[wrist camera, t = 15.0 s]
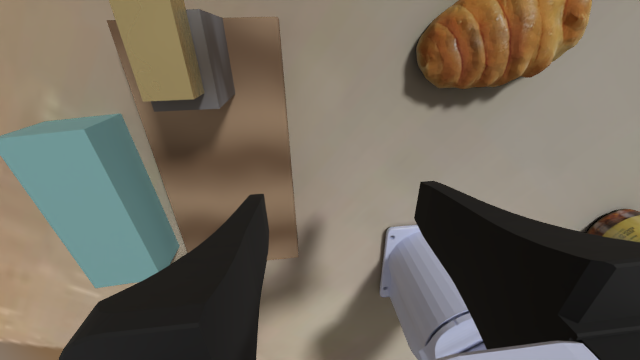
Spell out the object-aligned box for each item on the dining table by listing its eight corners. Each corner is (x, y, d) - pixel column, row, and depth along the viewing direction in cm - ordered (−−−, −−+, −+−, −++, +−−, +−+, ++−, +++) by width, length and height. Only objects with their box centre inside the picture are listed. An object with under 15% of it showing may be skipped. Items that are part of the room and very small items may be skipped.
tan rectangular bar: (204, 93, 12) (194, 99, 11) (158, 94, 12) (142, 101, 11) (164, -84, 9) (144, -105, 8) (104, -85, 9) (73, -106, 8)
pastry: (420, 107, 20) (446, 120, 17) (403, 9, 17) (431, 1, 14) (541, 60, 19) (594, 64, 16) (546, -51, 16) (613, -75, 13)
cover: (180, 243, 24) (162, 278, 20) (124, 251, 24) (95, 288, 20) (123, 112, 18) (83, 129, 15) (47, 120, 18) (-11, 139, 14)
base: (297, 241, 25) (300, 298, 19) (199, 250, 24) (173, 311, 19) (278, 19, 16) (273, 7, 11) (127, 22, 16) (40, 12, 10)
